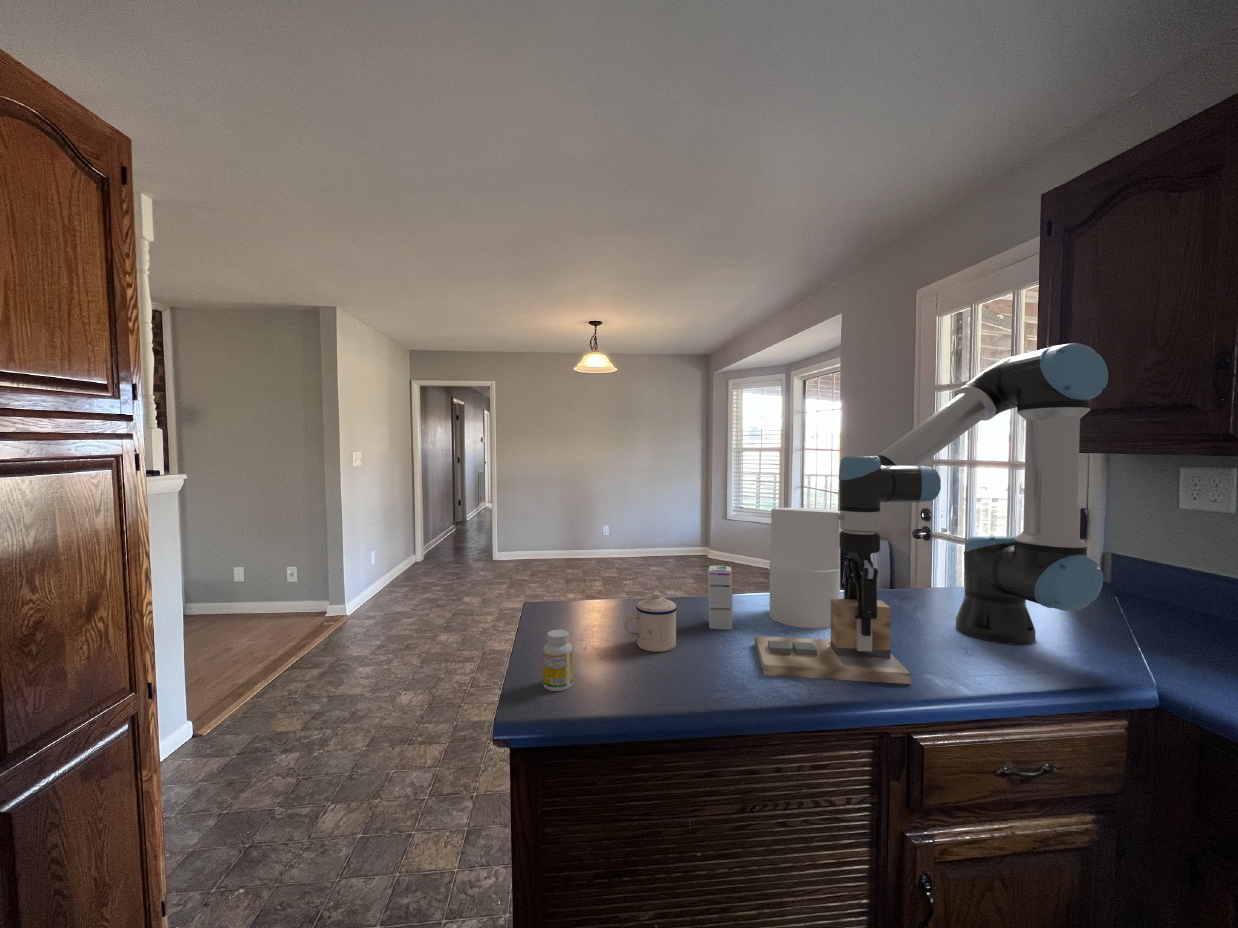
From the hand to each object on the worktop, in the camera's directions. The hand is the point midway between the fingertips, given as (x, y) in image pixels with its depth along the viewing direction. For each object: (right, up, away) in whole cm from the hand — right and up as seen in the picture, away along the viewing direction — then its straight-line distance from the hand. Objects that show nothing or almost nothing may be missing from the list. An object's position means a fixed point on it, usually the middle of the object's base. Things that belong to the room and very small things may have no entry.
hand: (859, 644), depth 102 cm
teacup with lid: (-42, -4, +9) cm, 43 cm away
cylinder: (-1, -3, +29) cm, 29 cm away
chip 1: (-16, -1, +1) cm, 16 cm away
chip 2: (-11, -1, 0) cm, 11 cm away
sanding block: (0, -1, 0) cm, 1 cm away
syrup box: (-24, -4, +22) cm, 33 cm away
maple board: (-7, -3, 0) cm, 8 cm away
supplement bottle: (-60, -4, -10) cm, 61 cm away
